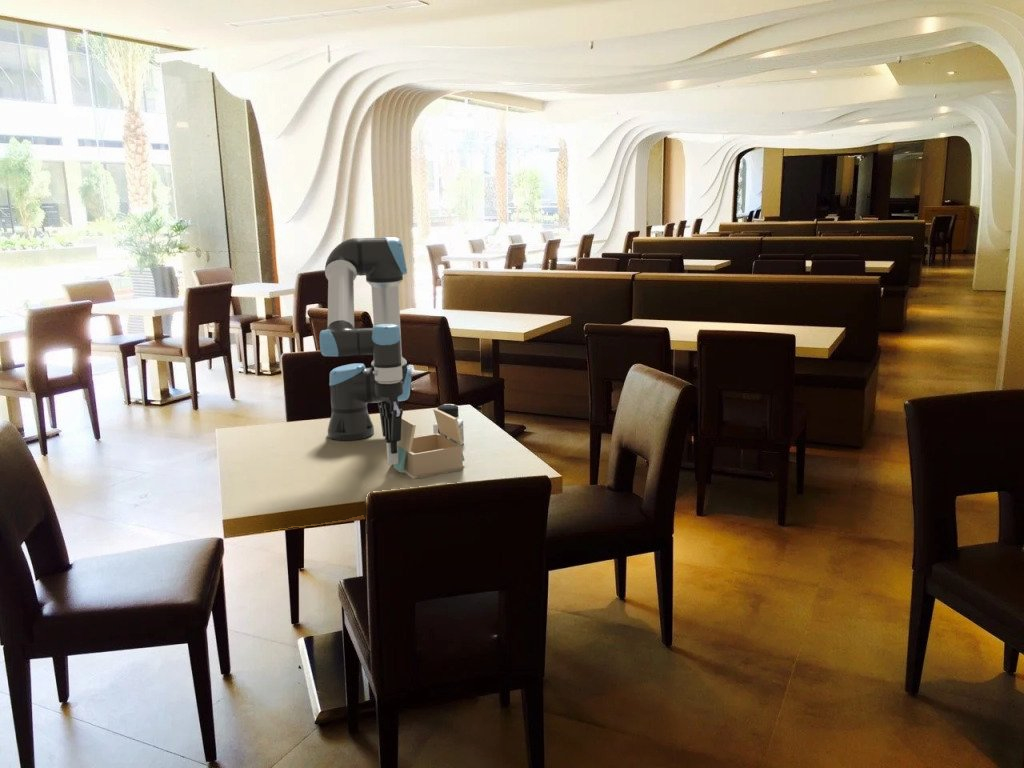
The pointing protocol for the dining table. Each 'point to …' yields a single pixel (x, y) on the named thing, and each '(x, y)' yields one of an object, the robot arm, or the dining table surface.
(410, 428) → the near flap
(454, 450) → the carton
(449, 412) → the container
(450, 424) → the far flap
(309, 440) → the dining table surface
